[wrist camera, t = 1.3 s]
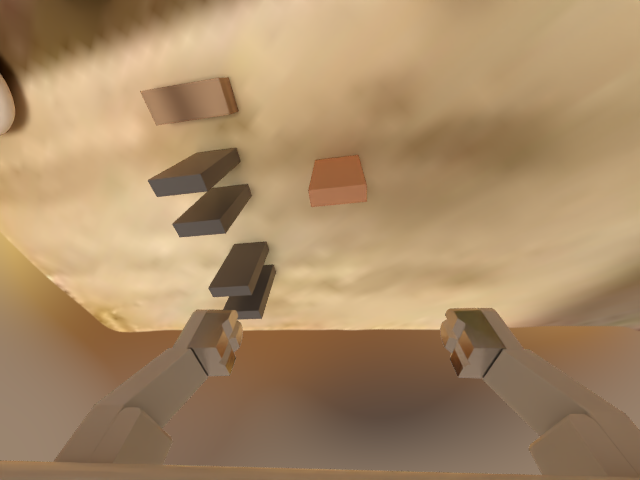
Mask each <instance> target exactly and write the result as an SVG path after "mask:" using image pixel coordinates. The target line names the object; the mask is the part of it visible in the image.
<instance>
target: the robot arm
mask: <svg viewBox="0 0 640 480" xmlns="http://www.w3.org/2000/svg"><path fill="white" fill-rule="evenodd" d="M445 316H446V318H447V320H445V321H444V322H442V325H441V328H440V333H441V339H442V342H443V345H444V347H445V348H446V349H447V350H448V351H449V352H451V353H452V354H451V357H450V361H451V363H452V365H453V367H454V370H455V372H456V374H457V376H458V378H483V381H485V383H486V384H487V385H488V386H489V387H491V388H492V389H493V390H494V391H495V392H496V393H497V394H498V395H499V396H500V397H501V398H502V399H503V400H504V401H505V402H506V403H507V404H508V405H509V406H510V407H511V408H512V409H513V410H514V411H515V412H516V413H517V414H518V415H519V416H520V417H521V418H522V419H523V420H524V421H525V422H526V423H527V424H528V425H529V426H530V427H531V428H532V429H533V430H534V431H535V432H536V433H537V434H538V435H539V436H540V437H539V438H538V439H537V440H535V441H534V442H533V443H531V444H530V446H529V451H530V453H531V455H532V457H533V459H534V461H535V463H536V464H537V466H538V468H539V470H540V472H541V474H542V475H525V474H522V475H521V474H488V473H451V472H414V471H411V472H410V471H376V470H375V471H373V470H339V469H336V470H335V469H302V468H299V469H298V468H264V467H263V468H262V467H225V466H190V465H163V464H164V461H165V459H166V456H167V454H168V451H169V449H170V447H171V444H172V437H171V436H170V435H168V433H166V432H165V431H164V430H163V429H162V428H163V427H164V426H165V425H166V424H167V423H168V422H169V421H170V419H171V418H172V417H173V416H174V415H175V414H176V413H177V412H178V411H179V409H180V408H181V407H182V406H183V405H184V404H185V403H186V401H187V400H188V399H189V398H190V397H191V396H192V395H193V394H194V393H195V391H196V390H197V389H198V388H199V387H200V386H201V385H202V384H203V383H204V381H205V380H206V379H207V378H208V376H230V374H231V372H232V368H233V366H234V362H235V359H236V357H235V354H234V352H235V351H236V350H237V349H238V348H239V347H240V344H241V341H242V335H243V329H242V325H241V323H240V322H239V321H237V318H238V314H237V312H236V310H196V311H195V312H193V314H192V315H191V317H190V319H189V320H188V322H187V324H186V325H185V327H184V329H183V331H182V332H181V334H180V336H179V337H178V339H177V341H176V342H175V344H174V346H173V348H168V349H167V350H165V351H164V352H163V353H162V354H160V355H159V356H158V357H156V358H155V359H154V360H152V361H151V362H150V363H149V364H147V365H146V366H145V367H143V368H142V369H141V370H140V371H138V372H137V373H135V374H134V375H133V376H132V377H130V378H129V379H128V380H126V381H125V382H124V383H122V384H121V385H120V386H118V387H117V388H116V389H115V390H113V391H112V392H111V393H109V394H108V395H107V396H105V397H104V398H103V399H101V400H100V401H99V402H98V403H96V404H95V405H94V406H93V408H92V409H91V410H90V412H89V413H88V414H87V416H86V417H85V419H84V420H83V421H82V423H81V424H80V425H79V427H78V428H77V429H76V431H75V432H74V434H73V435H72V437H71V438H70V439H69V441H68V442H67V443H66V445H65V446H64V448H63V449H62V450H61V452H60V453H59V455H58V456H57V457H56V459H55V460H54V461H53V462H41V461H4V460H3V461H2V460H0V480H640V430H639V429H638V428H637V426H636V425H635V424H634V423H633V422H632V421H631V420H630V418H629V417H628V416H627V415H626V414H625V413H623V412H622V411H620V410H619V409H618V408H616V407H615V406H613V405H612V404H610V403H608V402H607V401H606V400H604V399H602V398H601V397H599V396H598V395H596V394H595V393H593V392H592V391H590V390H589V389H587V388H586V387H584V386H583V385H581V384H580V383H578V382H577V381H575V380H574V379H572V378H571V377H569V376H568V375H566V374H565V373H563V372H562V371H560V370H559V369H557V368H556V367H554V366H553V365H551V364H550V363H548V362H547V361H545V360H544V359H542V358H541V357H539V356H538V355H536V354H535V353H533V352H532V351H530V350H529V349H524V348H523V347H522V346H521V344H520V343H519V342H518V340H517V339H516V337H515V336H514V335H513V334H512V332H511V331H510V329H509V328H508V327H507V325H506V324H505V323H504V321H503V320H502V318H501V317H500V316H499V314H498V313H497V312H496V311H495V310H494V309H492V308H451V309H448V310H447V311H446V314H445Z"/></svg>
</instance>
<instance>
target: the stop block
mask: <svg viewBox="0 0 640 480" xmlns="http://www.w3.org/2000/svg"><path fill="white" fill-rule="evenodd" d="M140 92H141V94H142V96H143V98H144V101H145V103H146V105H147V107H148V109H149V111H150V113H151V115H152V117H153V119H154V122H155V124H156V125H162V124H169V123H176V122H182V121H189V120H196V119H202V118H209V117H216V116H222V115H229V114H232V113H235V112H238V108H237V105H236V101H235V98H234V95H233V91H232V88H231V84H230V81H229V78H215V79H209V80H203V81H197V82H191V83H186V84H180V85H174V86H168V87H162V88H156V89H150V90H145V91H140Z"/></svg>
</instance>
